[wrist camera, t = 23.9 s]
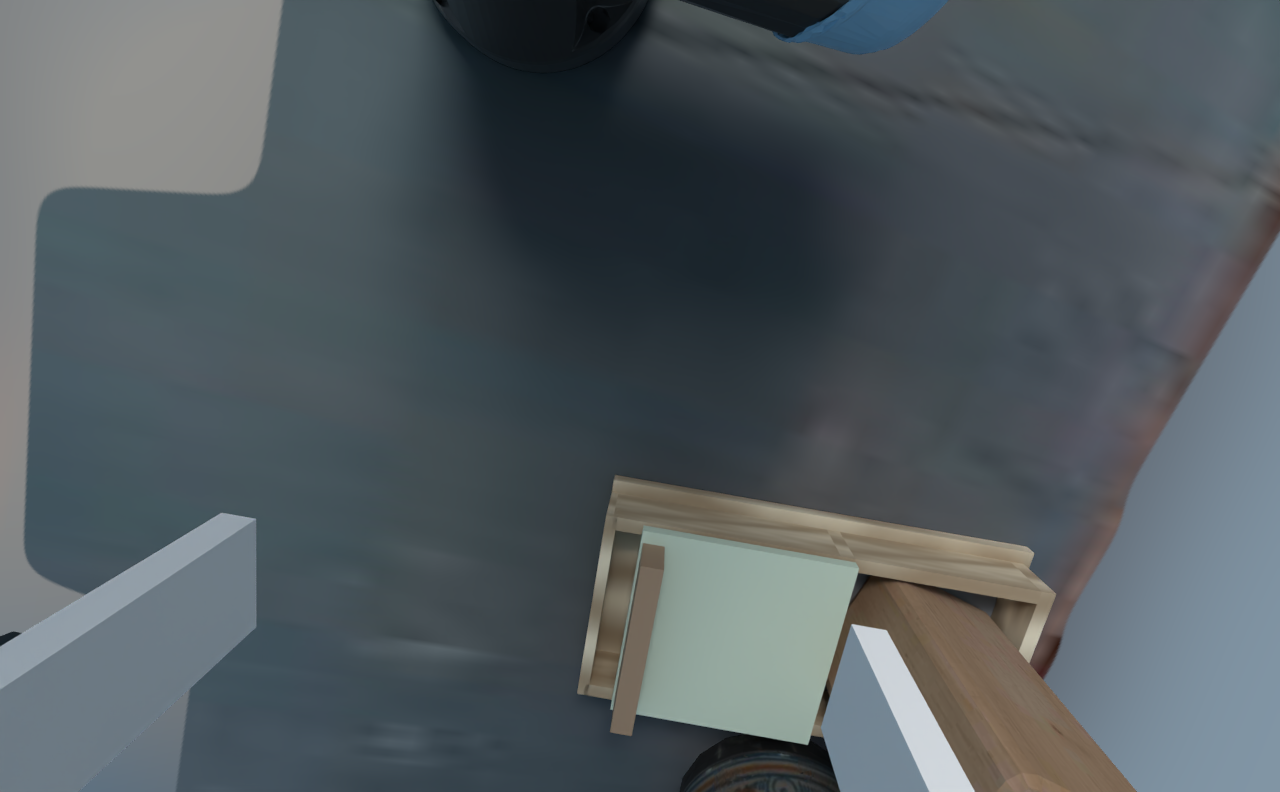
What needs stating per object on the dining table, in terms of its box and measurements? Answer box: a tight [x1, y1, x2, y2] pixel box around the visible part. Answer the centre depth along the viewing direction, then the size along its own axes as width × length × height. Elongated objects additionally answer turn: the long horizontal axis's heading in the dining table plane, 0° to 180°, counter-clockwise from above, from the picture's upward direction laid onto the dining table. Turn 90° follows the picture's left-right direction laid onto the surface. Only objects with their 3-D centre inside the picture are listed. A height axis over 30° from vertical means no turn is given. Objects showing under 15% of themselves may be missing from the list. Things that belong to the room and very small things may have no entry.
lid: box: [610, 525, 859, 745], centre depth 41 cm, size 15×15×4 cm
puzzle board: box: [577, 475, 1056, 738], centre depth 46 cm, size 17×32×5 cm, turn 81°
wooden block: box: [826, 575, 1137, 792], centre depth 37 cm, size 10×10×20 cm
